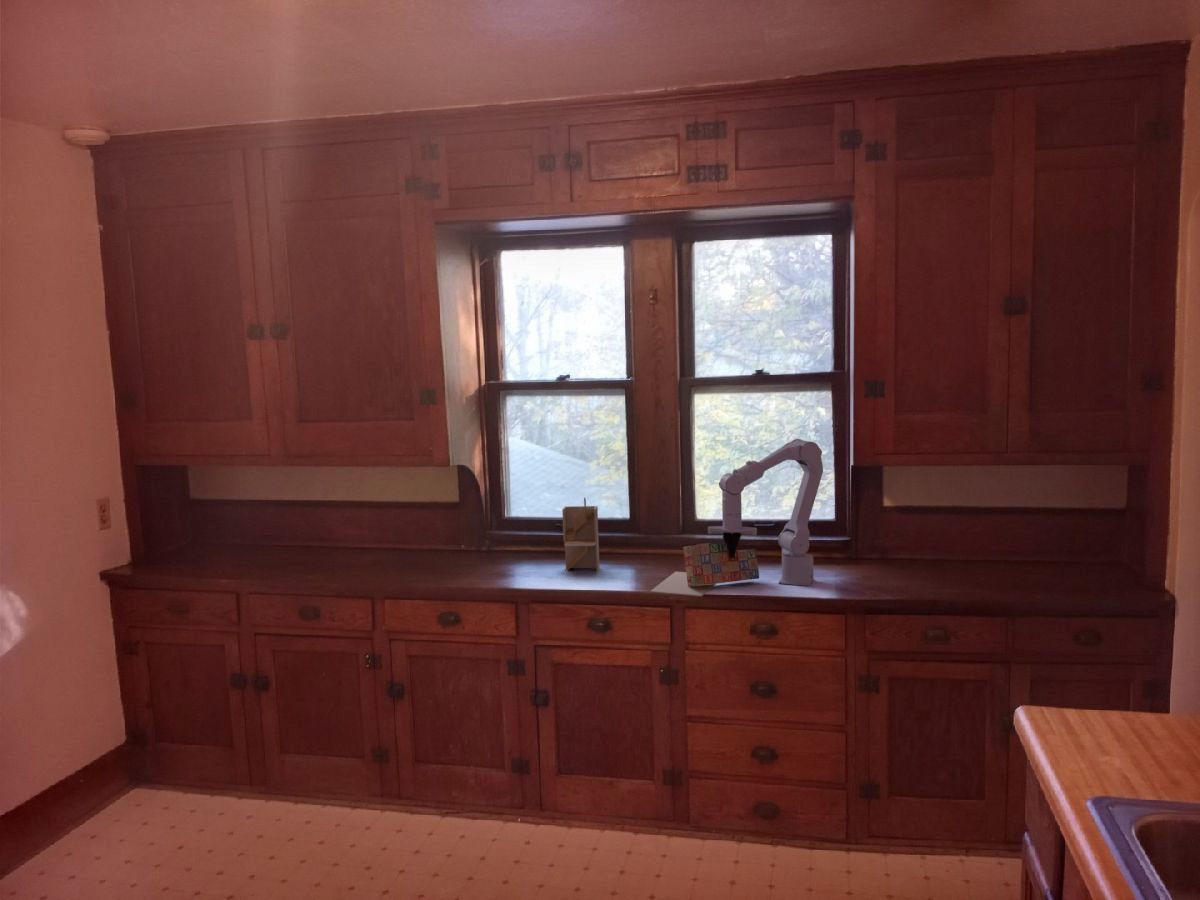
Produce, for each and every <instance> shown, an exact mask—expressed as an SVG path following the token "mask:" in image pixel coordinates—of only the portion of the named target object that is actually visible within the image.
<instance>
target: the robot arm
mask: <svg viewBox="0 0 1200 900" xmlns="http://www.w3.org/2000/svg"><path fill="white" fill-rule="evenodd" d="M822 454H823V451H822V449H821V448H820V446H819V444H817V443H816V442H815V441H810V440H809V441H808V440H803V439H800V438H794V439H793V440H791V441H789V442H787V443H785V444H784V445H782V446H781V447H780V448H778V449H777V450H775V451H773V452H772V453H770V454H769V455H767V456H765V457H764V458H762V459H760V460H759V461H757V460H747V461H745V464H744V465H742V466H741V467H739V468H737V469H736V468H734V469H733V470H732V473H729V472H728V473H725V474H723V475H722V476H721V478H720V480H719V482H718V486H719V488H720V490H721V492H722V493H721V496H722V497H721V503H722V504H721V506H722V509H721V513H722V525H716V526H715V525H714V526H711V525H709V526H708V527H707V534H708V535H712V534H722V540H724V541H723V542H725V543H726V545H727V548H728V551H729V554H730V558H735V553H736V551H737V547H738V544H739V541H740V539H741V537H742V535H746V536H748V535H749V536H750V535H751V536H757V534H758V532H757V531H758V528H757V527H749V526H743V522H742V521H743V520H742V514H743V513H742V492H743V491H744V489H745V488H746V487H748V486H750V485H751V484H753V483H754V482H756V481H758V480H759V479H761V478H763V477H764V473H765V471H768V470H769V469H772V468H773V467H775V466H777V465H780V464H782V463H783V462H785V461H795V462H796V463H798V464H799V466H800V468H801V469H802V471H803V475H802V479H801V482H800V484H799V489H798V492H797V496H796V499H795V503H794V505H793V509H792V513H791V516H790V520H789V521H788V522H787V523H786V524H785V525H784V527H783V529H782V531H781V532H780V533H779V535H778V538H777V542H778V545H779V546H780V547H781V578H780V579H779V581H778V584H780V583H781V584H782V585H793V586H795V585H796V586H805V587H806V586H811V585H812V583H813V581H814V579H815V578H814V556H813V554H808V553H807V552H808V551H809V548H810V534H811V532H810V530H809V527H808V525H809V521H810V518H811V515H812V511H813V508H814V504H815V500H816V497H817V495H818V491H819V486H820V483H821V480H822V476H823V473H824V467H823V460H822Z"/></svg>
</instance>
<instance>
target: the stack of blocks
mask: <svg viewBox="0 0 1200 900" xmlns="http://www.w3.org/2000/svg"><path fill="white" fill-rule="evenodd" d="M682 549H683V556H684V558H683V559H684V560H683V561H684V566H685V572H686V574H687V582H688V587H690V586H699V585H708V584H715V585H717V584H724V583H731V582H741V581H749V580H750V581H751V580H758V579H760V573H759V565H758V558H757V552H756V551H757V550H756V548H753V549H751V548H750V549H741V550H736V553H735V558H730V554H729V551H728V548H727V545H726V543H725V541H723V542H722V541H721V542H713V543H711V542H710V543H708V542H707V543H699V544H696V545H688V546H684V547H683V546H682Z"/></svg>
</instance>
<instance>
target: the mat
mask: <svg viewBox="0 0 1200 900" xmlns="http://www.w3.org/2000/svg"><path fill="white" fill-rule="evenodd" d="M713 586H715V585H714V584H708V585H699V586H690V587H688V582H687V574H686V571H674V572H673V573H672V574H671V575H668V577H667V578H664V580H663V581H661V582H660V583H659V584H657V585H656V586H655V587H654V588H652V589H651V590H650V593H653V594H654V593H655V594H665V595H666V594H667V595H679V596H688V597H698V598H699V597H701V598H702V597H704V595H705V594H706V593H707V592H709V590H710V589H711V588H712V587H713Z"/></svg>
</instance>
